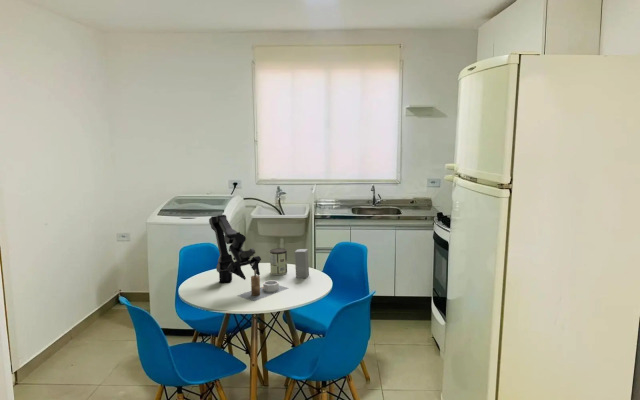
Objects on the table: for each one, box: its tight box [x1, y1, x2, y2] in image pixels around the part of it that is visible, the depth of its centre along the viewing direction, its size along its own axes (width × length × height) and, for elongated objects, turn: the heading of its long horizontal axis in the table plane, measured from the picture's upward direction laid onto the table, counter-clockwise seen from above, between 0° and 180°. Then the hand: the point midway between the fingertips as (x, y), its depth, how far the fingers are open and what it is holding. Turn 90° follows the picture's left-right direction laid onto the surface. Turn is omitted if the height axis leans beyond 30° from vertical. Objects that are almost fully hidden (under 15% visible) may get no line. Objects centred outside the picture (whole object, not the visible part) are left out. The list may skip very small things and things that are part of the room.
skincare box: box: [294, 248, 310, 279], centre depth 259 cm, size 8×7×16 cm
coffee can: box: [269, 247, 288, 276], centre depth 266 cm, size 10×10×14 cm
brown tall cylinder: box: [250, 270, 261, 296], centre depth 225 cm, size 4×4×13 cm
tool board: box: [236, 279, 289, 302], centre depth 230 cm, size 25×13×4 cm, turn 141°
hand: (252, 277), depth 226 cm, fingers open, 9 cm apart
